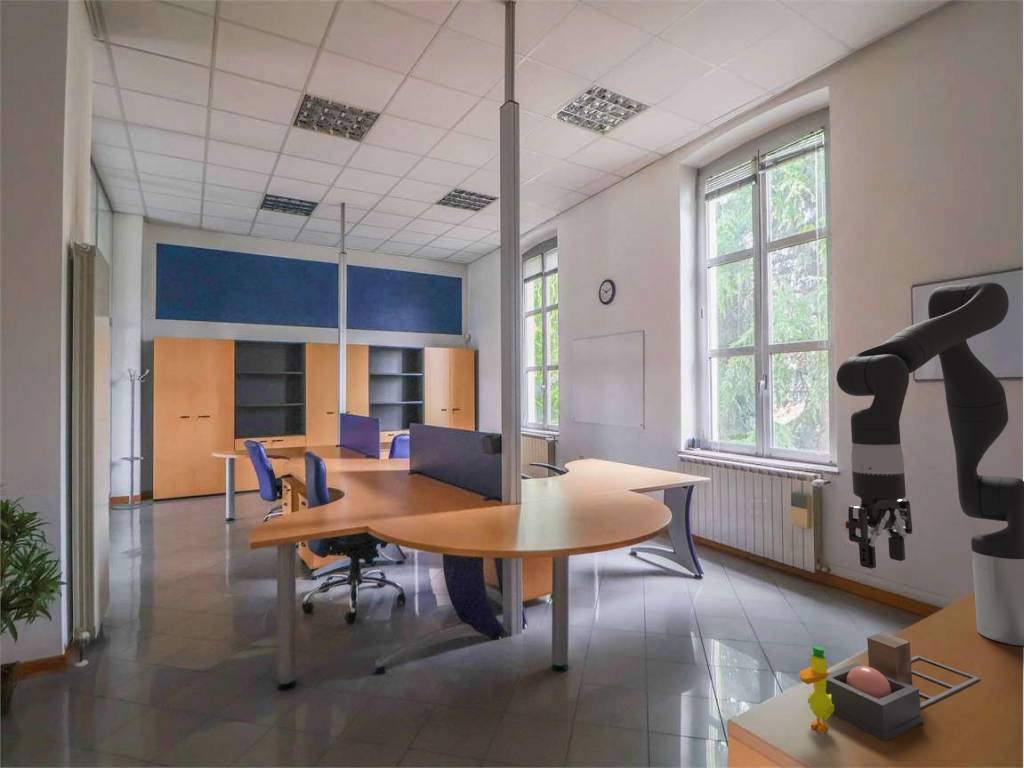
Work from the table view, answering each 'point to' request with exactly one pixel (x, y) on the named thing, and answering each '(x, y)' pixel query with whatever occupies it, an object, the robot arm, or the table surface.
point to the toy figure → (818, 688)
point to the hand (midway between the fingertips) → (883, 563)
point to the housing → (875, 705)
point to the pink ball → (869, 681)
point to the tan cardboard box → (890, 656)
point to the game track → (948, 692)
